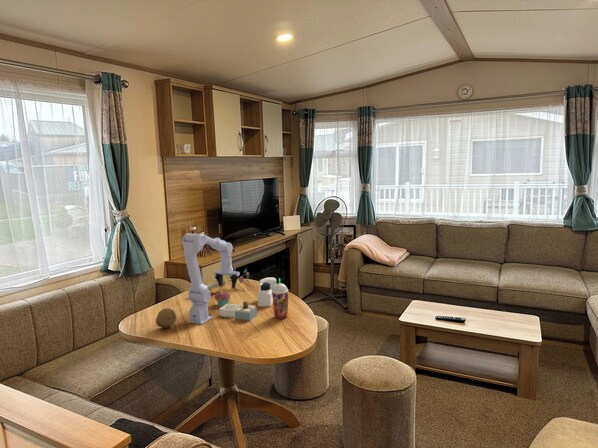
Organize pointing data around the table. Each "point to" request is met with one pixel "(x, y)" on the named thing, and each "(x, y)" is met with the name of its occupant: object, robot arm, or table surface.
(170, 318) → the natural sponge
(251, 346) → the table surface
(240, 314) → the slate pot
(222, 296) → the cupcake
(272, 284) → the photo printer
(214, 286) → the flower vase
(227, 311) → the cream pot
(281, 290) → the smoothie
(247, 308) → the lid
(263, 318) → the table surface
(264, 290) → the medicine bottle
